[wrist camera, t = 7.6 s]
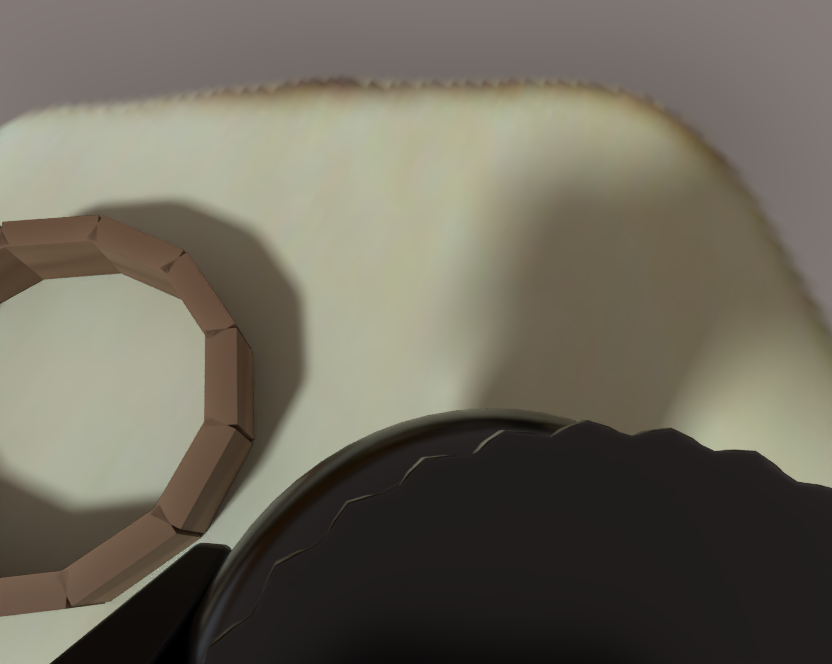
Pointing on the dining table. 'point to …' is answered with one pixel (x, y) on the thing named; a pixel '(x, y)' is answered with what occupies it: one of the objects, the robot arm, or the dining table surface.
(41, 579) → the ring holder
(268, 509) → the supplement bottle
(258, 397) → the dining table surface
